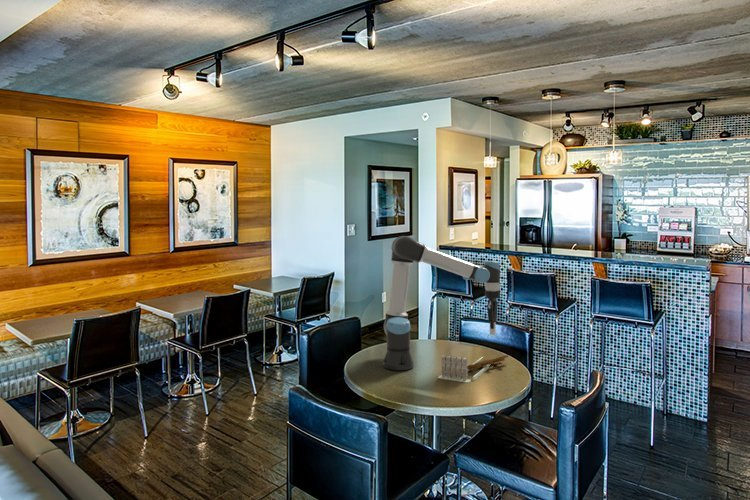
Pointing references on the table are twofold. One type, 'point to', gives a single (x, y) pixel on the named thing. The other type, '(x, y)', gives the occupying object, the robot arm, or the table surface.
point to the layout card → (454, 379)
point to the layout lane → (480, 370)
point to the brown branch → (486, 362)
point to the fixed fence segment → (454, 367)
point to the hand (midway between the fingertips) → (492, 334)
